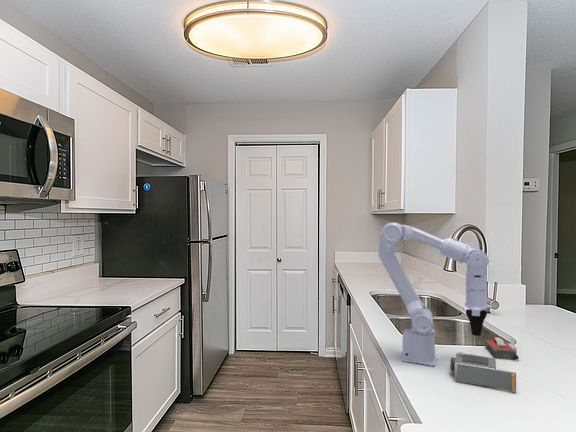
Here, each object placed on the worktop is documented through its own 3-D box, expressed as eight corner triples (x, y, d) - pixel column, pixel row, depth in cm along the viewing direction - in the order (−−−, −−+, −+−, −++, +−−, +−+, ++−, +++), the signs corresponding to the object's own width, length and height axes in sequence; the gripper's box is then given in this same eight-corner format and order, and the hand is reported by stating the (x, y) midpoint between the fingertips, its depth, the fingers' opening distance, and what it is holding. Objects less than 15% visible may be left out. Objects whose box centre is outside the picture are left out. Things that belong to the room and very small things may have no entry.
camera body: (449, 379, 107) (449, 359, 107) (452, 369, 114) (452, 350, 114) (496, 387, 102) (496, 366, 102) (495, 376, 109) (495, 356, 109)
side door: (454, 381, 105) (454, 364, 105) (454, 379, 106) (454, 362, 106) (516, 392, 98) (516, 374, 98) (516, 390, 99) (516, 372, 99)
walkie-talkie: (526, 363, 120) (505, 343, 139) (526, 349, 120) (505, 330, 139) (494, 360, 122) (479, 341, 141) (494, 346, 122) (479, 329, 141)
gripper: (491, 294, 108) (491, 344, 108) (491, 286, 121) (491, 330, 121) (463, 292, 111) (463, 340, 111) (466, 284, 124) (466, 327, 124)
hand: (476, 335), depth 116 cm, fingers closed
